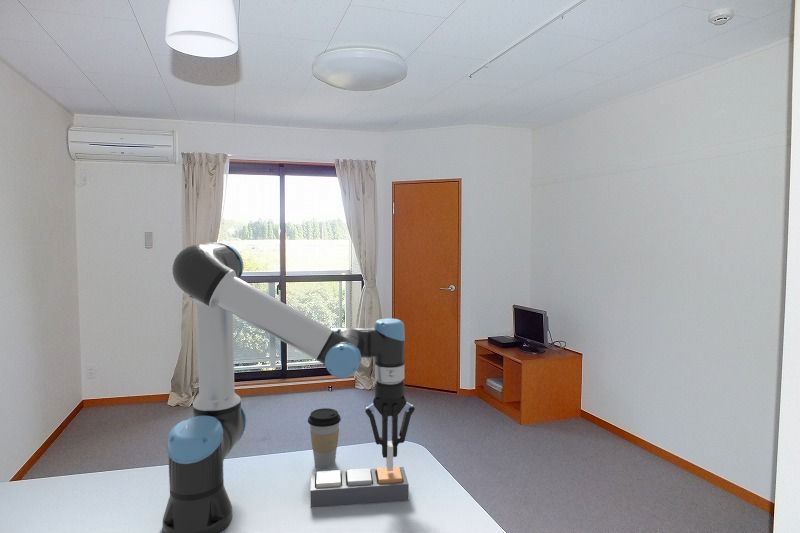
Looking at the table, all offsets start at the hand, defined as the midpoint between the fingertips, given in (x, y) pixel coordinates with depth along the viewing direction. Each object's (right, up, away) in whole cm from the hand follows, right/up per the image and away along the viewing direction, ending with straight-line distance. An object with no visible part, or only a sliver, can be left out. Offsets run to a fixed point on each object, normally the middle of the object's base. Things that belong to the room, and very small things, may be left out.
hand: (389, 468), depth 130 cm
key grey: (-8, -3, -1) cm, 9 cm away
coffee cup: (-19, -5, +16) cm, 26 cm away
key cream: (-16, -3, -2) cm, 16 cm away
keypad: (-8, -7, 0) cm, 10 cm away
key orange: (0, -3, 0) cm, 3 cm away
